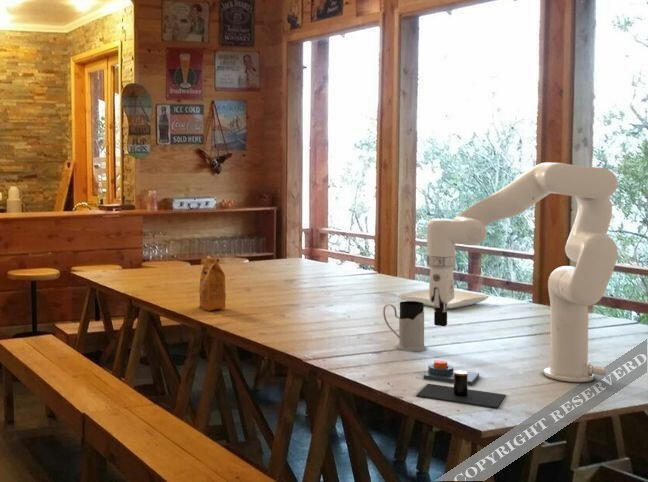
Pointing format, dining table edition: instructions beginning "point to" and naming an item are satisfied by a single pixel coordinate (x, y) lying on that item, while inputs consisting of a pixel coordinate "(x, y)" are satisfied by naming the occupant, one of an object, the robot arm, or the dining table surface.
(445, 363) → the button
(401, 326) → the glass holder
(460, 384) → the battery
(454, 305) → the square plate
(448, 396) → the desk pad
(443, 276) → the robot arm
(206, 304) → the coffee package
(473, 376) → the grey button base
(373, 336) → the dining table surface
